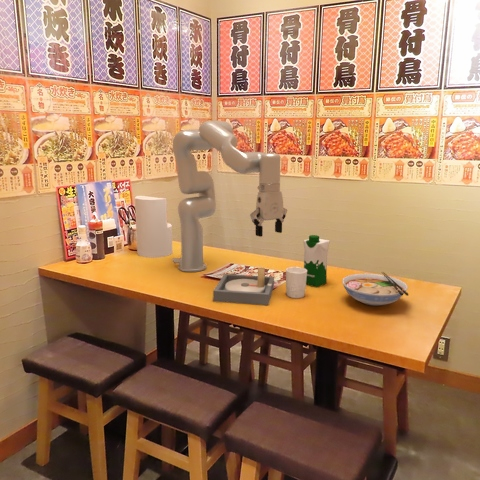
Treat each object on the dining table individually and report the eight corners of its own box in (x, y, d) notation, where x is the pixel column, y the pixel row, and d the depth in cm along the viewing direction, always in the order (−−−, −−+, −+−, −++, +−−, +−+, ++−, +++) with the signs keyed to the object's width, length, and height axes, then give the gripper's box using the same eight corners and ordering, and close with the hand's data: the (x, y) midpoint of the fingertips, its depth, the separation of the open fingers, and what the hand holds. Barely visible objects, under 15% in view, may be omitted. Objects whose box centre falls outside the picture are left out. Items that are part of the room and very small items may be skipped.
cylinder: (155, 259, 216) (153, 201, 209) (129, 253, 225) (127, 197, 218) (179, 251, 230) (178, 196, 223) (154, 246, 239) (152, 193, 232)
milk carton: (299, 283, 185) (301, 235, 180) (312, 278, 191) (314, 231, 187) (317, 288, 179) (320, 239, 174) (330, 283, 186) (332, 235, 181)
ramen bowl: (335, 289, 178) (336, 269, 176) (394, 291, 178) (396, 270, 176) (347, 315, 154) (349, 292, 152) (416, 317, 153) (418, 294, 151)
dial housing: (213, 301, 165) (213, 290, 164) (224, 283, 184) (224, 273, 183) (268, 305, 162) (268, 294, 161) (273, 286, 181) (274, 276, 180)
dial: (221, 295, 167) (221, 272, 165) (229, 282, 181) (229, 260, 179) (262, 298, 165) (262, 275, 162) (266, 285, 179) (267, 263, 177)
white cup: (292, 300, 167) (293, 274, 165) (281, 293, 174) (281, 268, 171) (310, 296, 170) (311, 271, 168) (298, 290, 177) (299, 265, 175)
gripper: (258, 191, 157) (257, 239, 161) (293, 187, 168) (292, 232, 172) (244, 188, 163) (244, 235, 167) (279, 185, 173) (278, 229, 177)
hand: (268, 234), depth 169 cm, fingers open, 9 cm apart
